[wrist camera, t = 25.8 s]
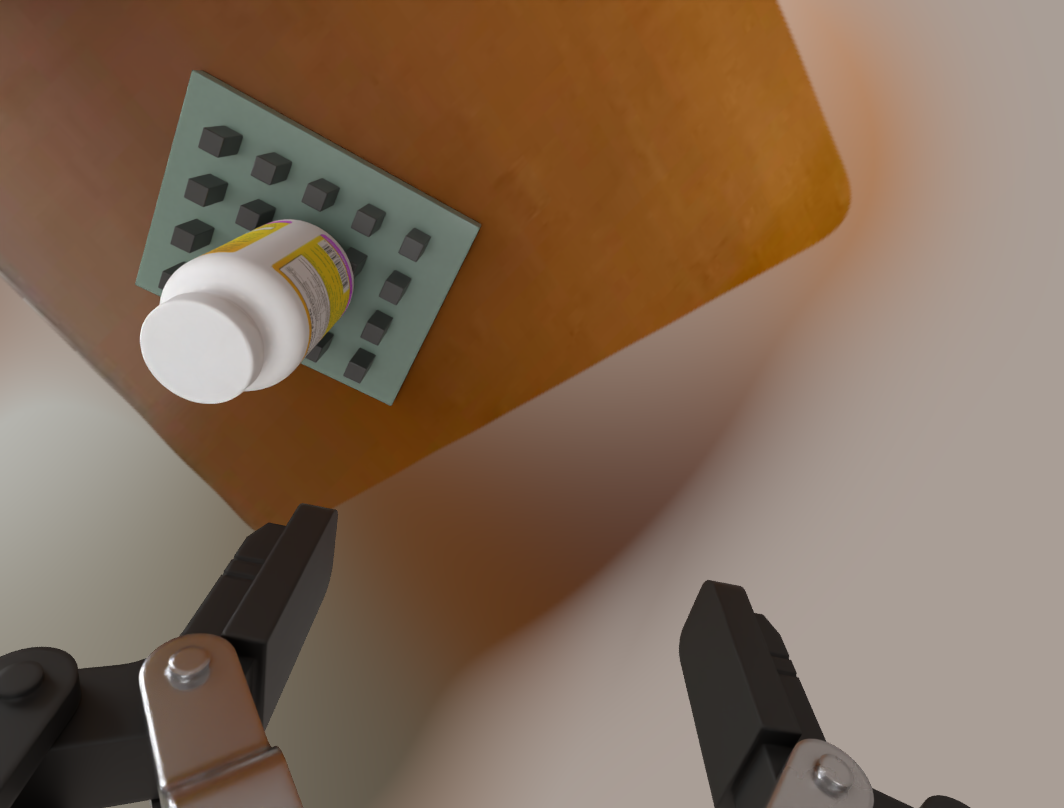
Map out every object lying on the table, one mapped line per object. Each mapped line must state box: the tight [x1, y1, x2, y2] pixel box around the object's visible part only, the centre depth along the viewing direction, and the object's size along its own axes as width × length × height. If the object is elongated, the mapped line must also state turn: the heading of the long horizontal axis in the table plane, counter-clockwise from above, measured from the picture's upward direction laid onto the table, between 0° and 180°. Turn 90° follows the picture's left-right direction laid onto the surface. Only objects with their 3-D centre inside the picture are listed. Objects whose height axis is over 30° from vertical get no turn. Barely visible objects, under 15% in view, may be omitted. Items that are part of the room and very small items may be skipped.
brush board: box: [135, 70, 481, 406], centre depth 39 cm, size 18×14×4 cm
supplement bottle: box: [140, 219, 354, 404], centre depth 32 cm, size 7×7×13 cm
